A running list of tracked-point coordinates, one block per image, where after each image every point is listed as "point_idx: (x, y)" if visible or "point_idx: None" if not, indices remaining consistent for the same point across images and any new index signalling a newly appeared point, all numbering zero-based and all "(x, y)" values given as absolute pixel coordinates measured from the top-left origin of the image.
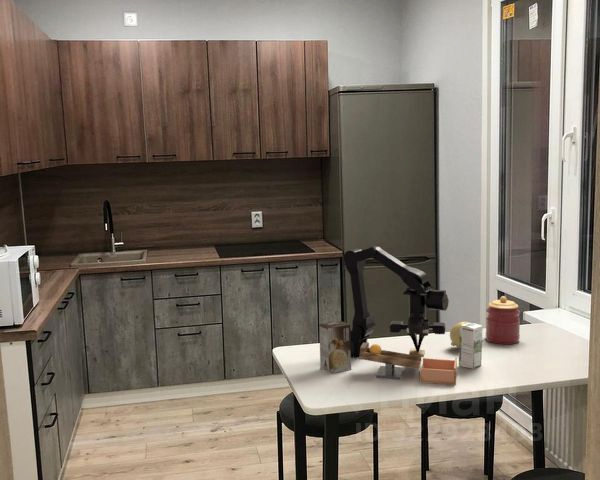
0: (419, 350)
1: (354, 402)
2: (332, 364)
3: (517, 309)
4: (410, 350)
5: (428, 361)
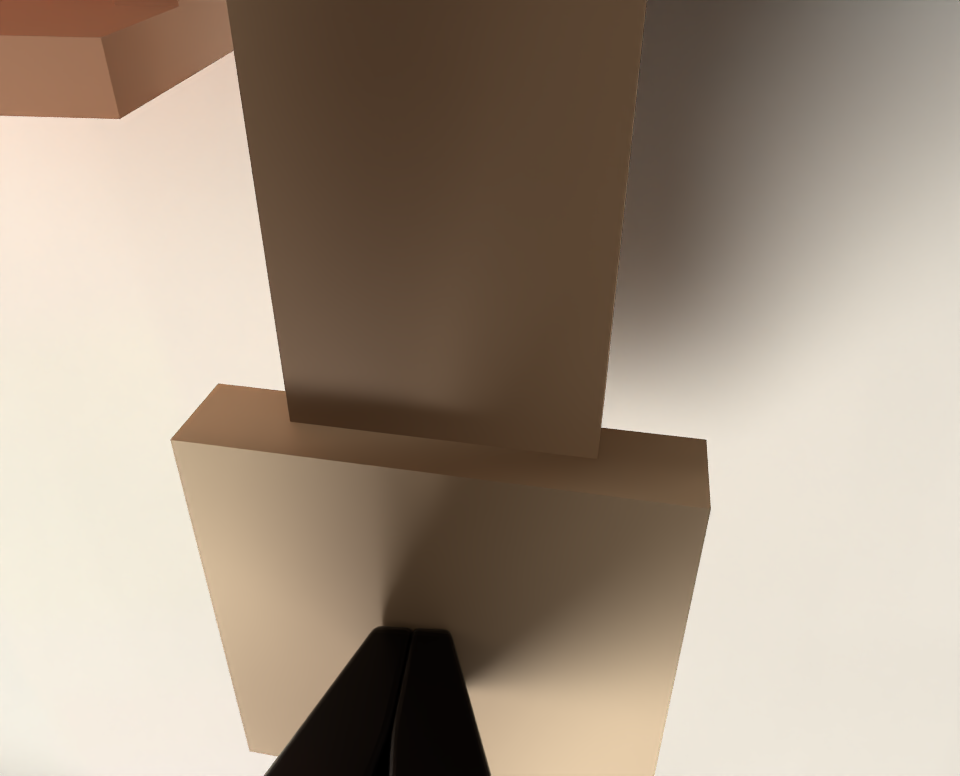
0: None
1: None
2: None
3: None
4: (657, 674)
5: None
